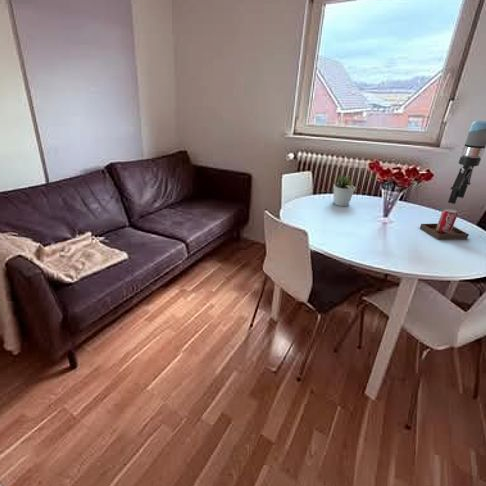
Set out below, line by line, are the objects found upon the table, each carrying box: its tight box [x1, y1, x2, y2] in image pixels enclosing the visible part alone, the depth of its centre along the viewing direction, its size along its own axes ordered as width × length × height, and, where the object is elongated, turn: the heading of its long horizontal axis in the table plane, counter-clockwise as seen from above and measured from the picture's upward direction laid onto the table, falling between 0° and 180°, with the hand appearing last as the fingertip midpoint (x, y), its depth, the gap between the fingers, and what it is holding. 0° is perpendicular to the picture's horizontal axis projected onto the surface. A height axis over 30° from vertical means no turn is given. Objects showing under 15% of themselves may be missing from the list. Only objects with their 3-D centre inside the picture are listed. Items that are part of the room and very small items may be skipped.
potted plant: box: [331, 174, 356, 207], centre depth 192 cm, size 13×14×20 cm
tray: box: [419, 223, 470, 241], centre depth 158 cm, size 13×15×3 cm
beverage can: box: [436, 208, 458, 234], centre depth 156 cm, size 6×6×12 cm
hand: (455, 200), depth 151 cm, fingers open, 13 cm apart
